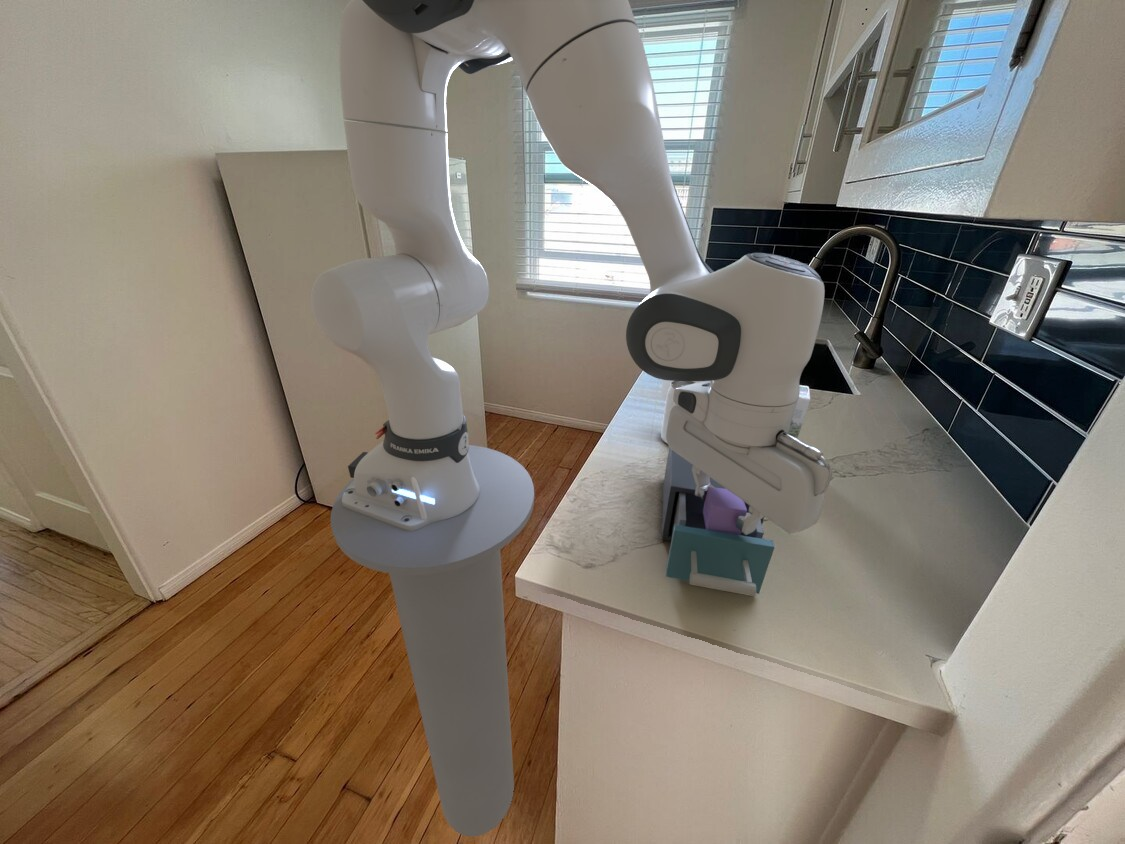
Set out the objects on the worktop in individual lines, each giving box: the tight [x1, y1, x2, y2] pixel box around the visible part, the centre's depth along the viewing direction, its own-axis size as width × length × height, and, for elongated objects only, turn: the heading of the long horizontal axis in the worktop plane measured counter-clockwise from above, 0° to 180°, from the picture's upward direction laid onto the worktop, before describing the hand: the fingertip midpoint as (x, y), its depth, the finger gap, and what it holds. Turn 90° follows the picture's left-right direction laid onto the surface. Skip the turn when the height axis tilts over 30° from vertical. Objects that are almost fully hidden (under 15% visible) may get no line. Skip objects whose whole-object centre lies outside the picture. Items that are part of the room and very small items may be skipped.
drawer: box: [665, 492, 775, 597], centre depth 58 cm, size 18×11×8 cm, turn 167°
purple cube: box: [703, 487, 747, 535], centre depth 55 cm, size 4×4×4 cm
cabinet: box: [661, 447, 765, 542], centre depth 67 cm, size 15×13×10 cm
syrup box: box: [788, 384, 811, 439], centre depth 81 cm, size 6×6×14 cm
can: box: [660, 381, 696, 445], centre depth 87 cm, size 6×6×12 cm
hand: (722, 512), depth 55 cm, fingers closed on purple cube, 5 cm apart
